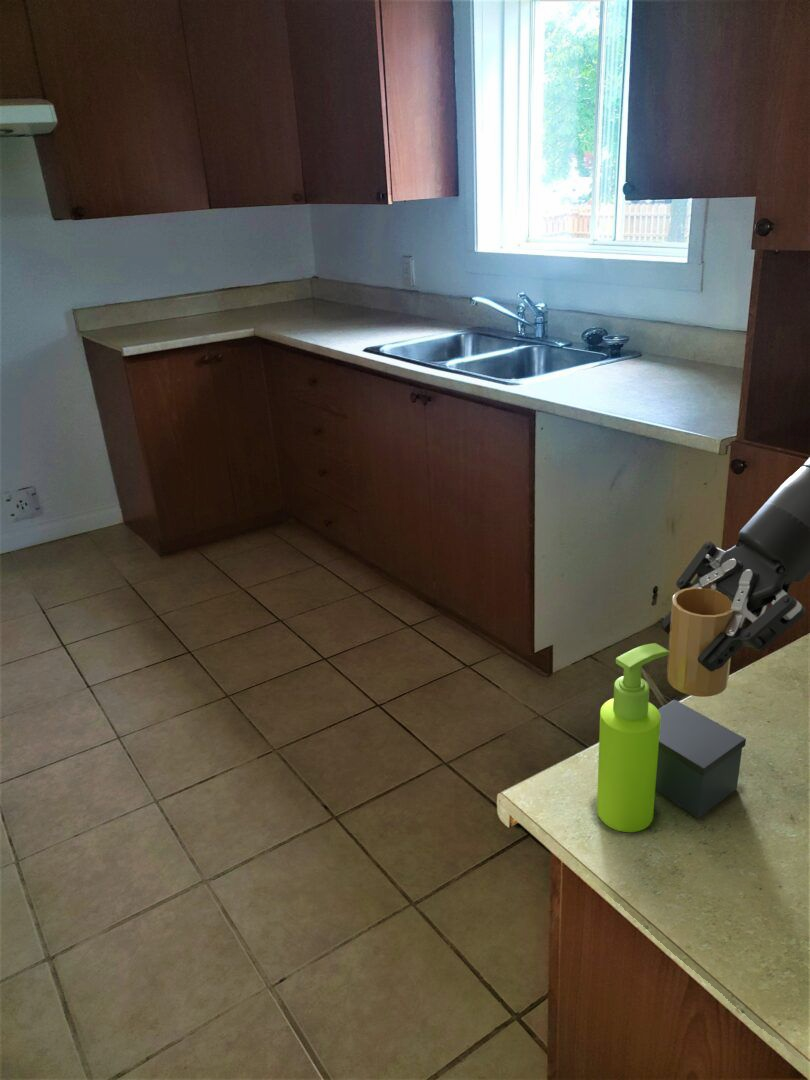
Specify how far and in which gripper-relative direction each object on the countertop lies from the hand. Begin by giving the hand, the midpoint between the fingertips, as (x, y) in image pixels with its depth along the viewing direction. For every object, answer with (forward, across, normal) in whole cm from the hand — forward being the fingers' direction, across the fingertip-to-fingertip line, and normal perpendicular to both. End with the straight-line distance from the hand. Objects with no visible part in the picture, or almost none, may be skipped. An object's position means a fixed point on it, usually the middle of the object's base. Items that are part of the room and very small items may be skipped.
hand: (685, 648), depth 84 cm
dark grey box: (+12, 0, +13) cm, 18 cm away
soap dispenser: (+17, +2, +8) cm, 19 cm away
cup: (+2, 0, +4) cm, 5 cm away
